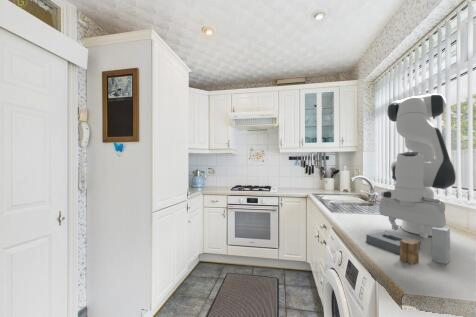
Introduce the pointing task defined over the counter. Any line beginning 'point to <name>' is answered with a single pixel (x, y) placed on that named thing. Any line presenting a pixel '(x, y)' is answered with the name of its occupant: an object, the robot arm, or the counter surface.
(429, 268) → the counter surface
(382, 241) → the slate socket block
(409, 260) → the brown wooden block
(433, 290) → the counter surface
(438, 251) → the skincare box
